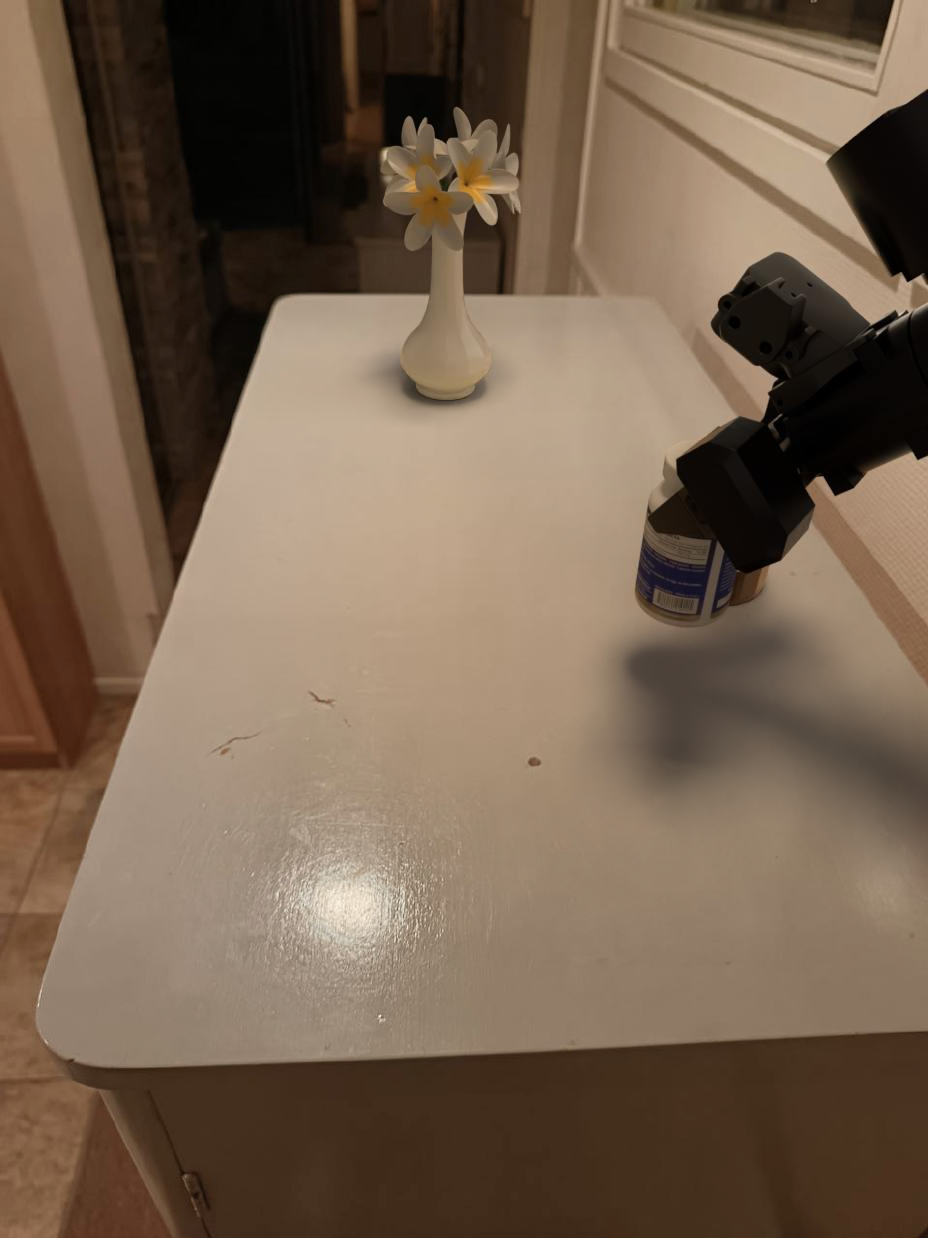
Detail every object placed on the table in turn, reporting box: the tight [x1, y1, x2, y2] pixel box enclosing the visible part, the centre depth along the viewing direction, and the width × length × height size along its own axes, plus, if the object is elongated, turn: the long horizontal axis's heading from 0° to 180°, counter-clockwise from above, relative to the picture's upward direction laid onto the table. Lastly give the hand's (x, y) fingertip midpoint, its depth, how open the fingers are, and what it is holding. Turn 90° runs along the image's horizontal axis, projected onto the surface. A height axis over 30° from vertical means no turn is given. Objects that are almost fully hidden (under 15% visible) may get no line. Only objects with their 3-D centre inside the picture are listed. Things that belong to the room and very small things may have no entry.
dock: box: [729, 565, 771, 606], centre depth 66 cm, size 8×8×3 cm
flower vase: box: [380, 106, 522, 401], centre depth 84 cm, size 13×18×25 cm
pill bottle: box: [634, 439, 737, 629], centre depth 51 cm, size 6×6×10 cm
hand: (677, 502), depth 51 cm, fingers closed on pill bottle, 6 cm apart
